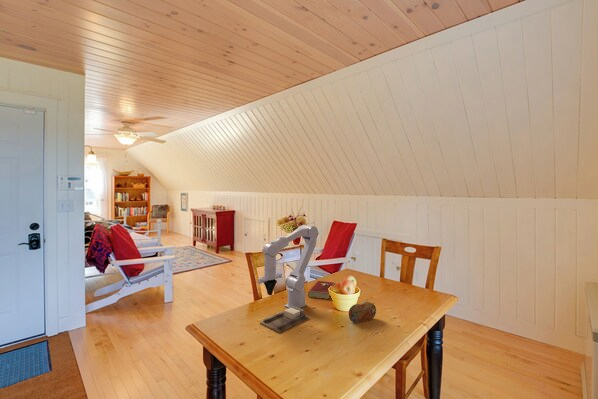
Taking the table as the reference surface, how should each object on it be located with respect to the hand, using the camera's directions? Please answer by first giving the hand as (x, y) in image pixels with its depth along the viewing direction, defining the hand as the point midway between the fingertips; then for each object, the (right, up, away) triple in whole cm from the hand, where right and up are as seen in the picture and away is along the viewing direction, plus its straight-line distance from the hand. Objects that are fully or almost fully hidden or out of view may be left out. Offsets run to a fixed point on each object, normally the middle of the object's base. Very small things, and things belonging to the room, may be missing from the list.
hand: (269, 294), depth 147 cm
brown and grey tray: (+8, -10, -9) cm, 15 cm away
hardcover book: (+29, -9, +32) cm, 44 cm away
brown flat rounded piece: (+45, -11, -7) cm, 47 cm away
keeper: (+11, -10, -5) cm, 16 cm away
